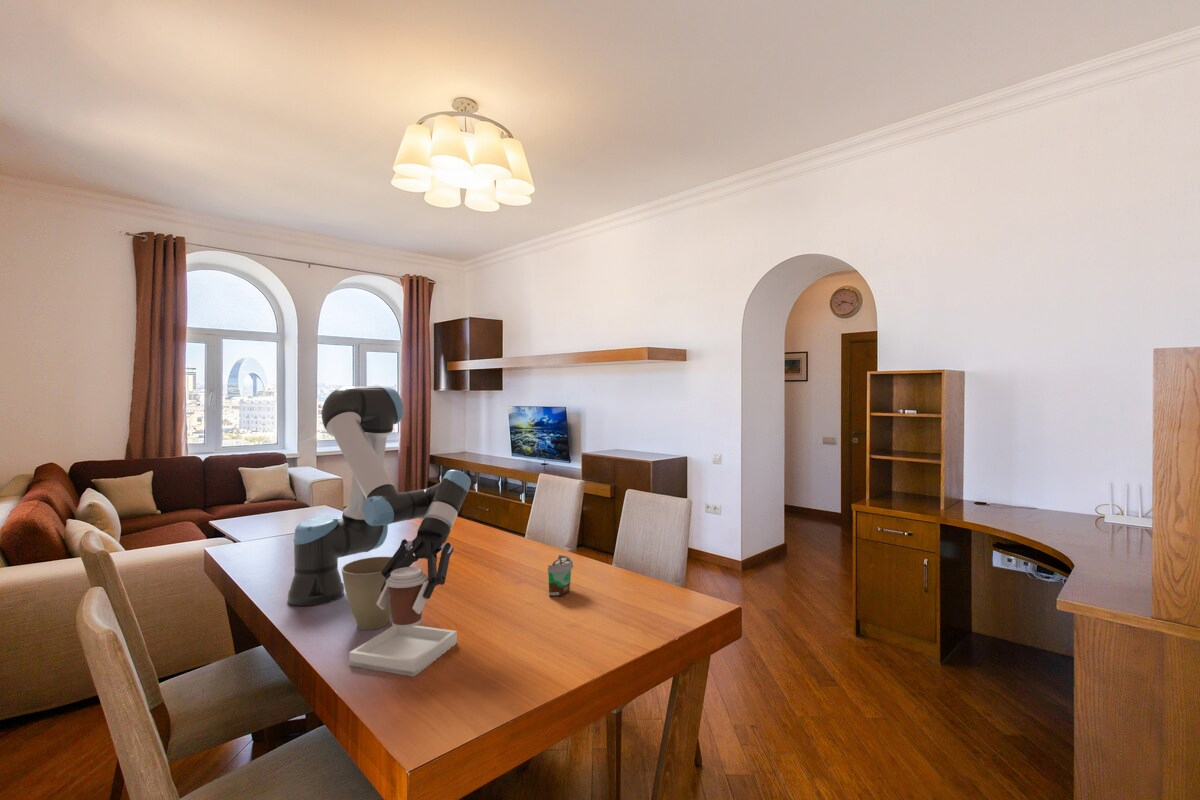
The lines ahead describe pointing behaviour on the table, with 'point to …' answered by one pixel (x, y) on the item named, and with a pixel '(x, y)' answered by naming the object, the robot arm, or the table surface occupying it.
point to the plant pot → (366, 591)
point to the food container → (560, 576)
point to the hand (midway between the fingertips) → (398, 608)
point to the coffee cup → (405, 595)
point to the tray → (403, 649)
